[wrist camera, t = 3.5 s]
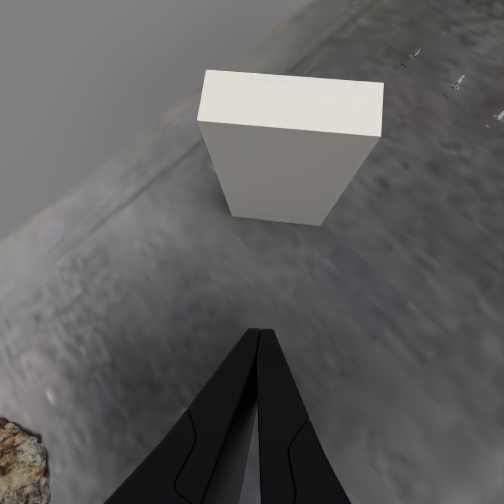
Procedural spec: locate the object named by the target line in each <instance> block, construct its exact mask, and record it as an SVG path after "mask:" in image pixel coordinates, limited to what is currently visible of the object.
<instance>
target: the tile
mask: <svg viewBox="0 0 504 504" xmlns="http://www.w3.org/2000/svg"><path fill="white" fill-rule="evenodd" d="M383 84H384V83H376V82H362V81H349V80H336V79H322V78H309V77H296V76H282V75H269V74H256V73H242V72H229V71H215V70H206V75H205V80H204V86H203V91H202V96H201V102H200V107H199V113H198V118H197V122H198V124H199V127H200V130H201V133H202V135H203V138H204V141H205V144H206V146H207V149H208V152H209V154H210V157H211V160H212V163H213V165H214V168H215V171H216V174H217V176H218V179H219V182H220V185H221V187H222V190H223V193H224V195H225V198H226V201H227V204H228V206H229V209H230V212H231V215H232V216H233V217H242V218H251V219H260V220H269V221H278V222H287V223H296V224H305V225H314V226H320V225H321V224H322V222H323V221H324V219H325V218H326V217H327V215H328V214H329V212H330V211H331V209H332V208H333V206H334V205H335V203H336V202H337V200H338V199H339V197H340V196H341V194H342V193H343V192H344V190H345V189H346V187H347V186H348V184H349V183H350V181H351V180H352V178H353V177H354V175H355V174H356V172H357V171H358V169H359V168H360V167H361V165H362V164H363V162H364V161H365V159H366V158H367V156H368V155H369V153H370V152H371V150H372V149H373V147H374V146H375V145H376V143H377V142H378V140H379V139H380V137H381V124H382V104H383Z"/></svg>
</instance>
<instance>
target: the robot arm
mask: <svg viewBox="0 0 504 504" xmlns="http://www.w3.org/2000/svg"><path fill="white" fill-rule="evenodd" d="M257 403H258V432H259V462H260V492H261V504H351V502H350V500H349V498H348V497H347V495H346V493H345V491H344V489H343V487H342V486H341V484H340V482H339V480H338V478H337V477H336V475H335V473H334V471H333V469H332V467H331V465H330V463H329V461H328V459H327V457H326V455H325V453H324V451H323V449H322V446H321V444H320V442H319V440H318V437H317V435H316V433H315V430H314V428H313V425H312V423H311V421H310V420H309V416H308V413H307V411H306V408H305V406H304V404H303V401H302V399H301V396H300V394H299V391H298V389H297V386H296V384H295V381H294V379H293V376H292V374H291V371H290V369H289V366H288V364H287V362H286V359H285V357H284V354H283V352H282V349H281V347H280V344H279V342H278V339H277V337H276V334H275V332H274V330H273V329H261V330H260V329H259V328H249V329H247V331H246V332H245V333H244V335H243V336H242V337H241V338H240V340H239V341H238V342H237V344H236V345H235V346H234V348H233V349H232V350H231V352H230V353H229V354H228V356H227V357H226V358H225V360H224V361H223V362H222V363H221V365H220V366H219V367H218V369H217V370H216V371H215V373H214V374H213V375H212V377H211V378H210V379H209V381H208V382H207V383H206V384H205V386H204V387H203V388H202V390H201V391H200V392H199V394H198V395H197V396H196V398H195V399H194V400H193V402H192V403H191V404H190V406H189V407H188V410H186V411H185V412H184V413H183V415H182V416H181V417H180V419H179V420H178V421H177V422H176V424H175V425H174V426H173V427H172V429H171V430H170V431H169V432H168V434H167V435H166V436H165V437H164V438H163V440H162V441H161V442H160V443H159V444H158V445H157V446H156V447H155V448H154V450H153V451H152V452H151V453H150V454H149V455H148V456H147V457H146V458H145V459H144V461H143V462H142V463H141V464H140V465H139V466H138V467H137V468H136V469H135V470H134V471H133V472H132V473H131V475H130V476H129V477H128V478H127V479H126V480H125V481H124V482H123V483H122V484H121V485H120V486H119V487H118V489H117V490H116V491H115V492H114V493H113V494H112V495H111V496H110V497H109V498H108V499H107V500H106V501H105V502H104V503H103V504H239V499H240V494H241V488H242V483H243V478H244V473H245V467H246V462H247V457H248V451H249V446H250V441H251V435H252V430H253V425H254V420H255V414H256V409H257Z"/></svg>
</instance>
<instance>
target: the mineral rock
mask: <svg viewBox="0 0 504 504" xmlns="http://www.w3.org/2000/svg"><path fill="white" fill-rule="evenodd" d="M45 458H46V448H45V447H44V443H43V442H42V443H39V442H38V439H37V438H36V437H35V436H34V437H32V436H30V435H29V434H27V433H25V432H23V431H22V429H21V428H19V427H18V426H17V425H15V424H13V423H7V422H6V421H5V419H0V504H47V503H48V501H49V497H50V490H49V487H48V485H47V484H48V482H49V481H50V479H49V475H48V471H47V465H46V464H45V461H46V460H45Z"/></svg>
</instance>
